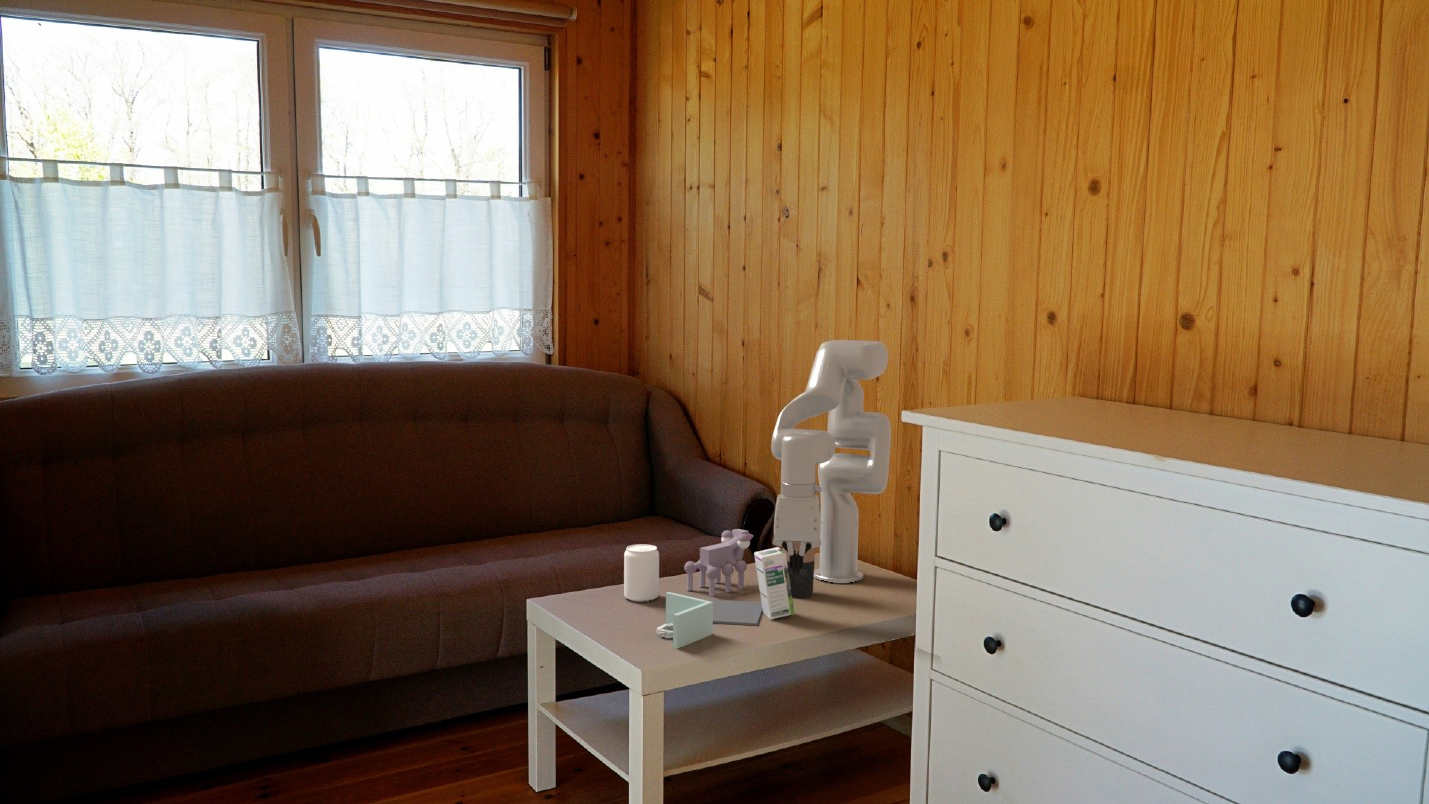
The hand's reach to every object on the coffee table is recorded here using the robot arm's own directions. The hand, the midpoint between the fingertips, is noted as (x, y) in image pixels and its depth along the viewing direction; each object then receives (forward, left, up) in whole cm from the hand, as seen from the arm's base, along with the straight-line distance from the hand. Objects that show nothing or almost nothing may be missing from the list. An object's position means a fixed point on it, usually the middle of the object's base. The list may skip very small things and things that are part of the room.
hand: (796, 571), depth 237 cm
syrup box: (0, -4, -10) cm, 11 cm away
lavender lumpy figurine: (-22, -19, -11) cm, 30 cm away
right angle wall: (+18, -24, -11) cm, 32 cm away
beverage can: (-8, -37, -10) cm, 39 cm away
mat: (0, -18, -10) cm, 20 cm away
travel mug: (-18, -1, -10) cm, 21 cm away
